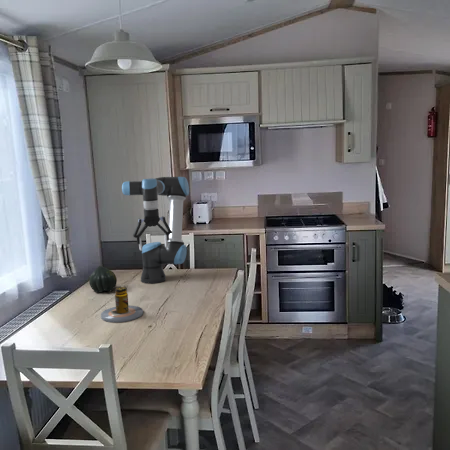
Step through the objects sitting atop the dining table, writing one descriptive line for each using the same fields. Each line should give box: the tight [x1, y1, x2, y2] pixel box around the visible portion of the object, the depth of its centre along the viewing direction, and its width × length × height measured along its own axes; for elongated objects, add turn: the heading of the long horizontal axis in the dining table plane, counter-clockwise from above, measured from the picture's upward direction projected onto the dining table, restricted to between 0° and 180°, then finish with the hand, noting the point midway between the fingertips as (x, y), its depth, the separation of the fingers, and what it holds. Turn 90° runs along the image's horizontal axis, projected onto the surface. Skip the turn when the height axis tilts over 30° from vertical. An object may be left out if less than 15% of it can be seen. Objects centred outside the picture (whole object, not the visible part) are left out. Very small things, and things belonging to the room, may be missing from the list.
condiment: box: [110, 286, 131, 316], centre depth 220 cm, size 7×8×12 cm
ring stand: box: [100, 304, 144, 323], centre depth 221 cm, size 20×20×1 cm
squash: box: [88, 265, 118, 293], centre depth 260 cm, size 14×15×15 cm
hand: (153, 248), depth 238 cm, fingers open, 13 cm apart
